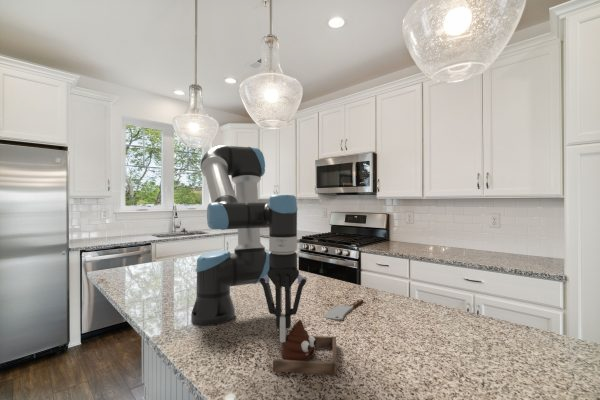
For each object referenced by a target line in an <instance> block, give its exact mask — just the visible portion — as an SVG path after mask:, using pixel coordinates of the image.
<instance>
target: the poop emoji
mask: <svg viewBox="0 0 600 400" xmlns="http://www.w3.org/2000/svg"><path fill="white" fill-rule="evenodd" d="M309 336H310V337H309ZM313 336H314V335H309V333H308V331H307V330H306V329H305V326H304V324H303V321H302V320H301V319H298V321H296V323H294V325H293V326H292V327H291V330H289V333H287V337H286V341H285V342H284V344H283V343H282V348H281V354H280V356H281V358H282V360H298V361H309V359H310V358H311V357H313V356H314V354H315V347H316V346H315V345H316V340H315V338H314V337H313Z"/></svg>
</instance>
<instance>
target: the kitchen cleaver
mask: <svg viewBox="0 0 600 400" xmlns="http://www.w3.org/2000/svg"><path fill="white" fill-rule="evenodd" d="M363 303H364V299H357V300H356V301H355V302H353V303H352V304H348V305H347V304H346V305H343V304H342V305H341V304H336V305H335V306H333V308H331V309H329V310H328V311H326V313H324V314H323V315H321V318H324V319H328V320H332V321H336V322H341V321H343V320H344V318H345V316H346V315H347V314H349V312H351V311H352V310H354V309H356V308H358V307H359V306H360V305H362V304H363Z"/></svg>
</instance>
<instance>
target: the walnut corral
mask: <svg viewBox="0 0 600 400" xmlns="http://www.w3.org/2000/svg"><path fill="white" fill-rule="evenodd" d="M310 336H311V335H309V337H310ZM312 336H313V337H314V338H315V340H316V345H315V346H314V347H331V348H332V352H331V353H332V354H331V356H332V357H331V358H332V362H331V361H329V362H328V361H312V360H307V361H298V360H283V359H277V358H273V359H272V372H282V373H284V372H286V373H296V374H297V373H298V374H299V373H300V374H314V375H328V376H330V375H331V376H332V375H333V376H337V369H338V368H337V366H338V365H337V364H338V363H337V336H326V335H325V336H324V335H312ZM283 344H284V342H282V345H283Z"/></svg>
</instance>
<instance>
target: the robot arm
mask: <svg viewBox="0 0 600 400" xmlns="http://www.w3.org/2000/svg"><path fill="white" fill-rule="evenodd" d="M200 172H201V173H202V175H203V176H204V177H205V180H206V185H207V188H208V192H209V197H210V200H211V201H210V202H209V204H208V205H207V208H206V221H207V226H208V228H209V229H210V230H221V231H225V230H237V246H236V247H235V248H234V249H233V250H234V253H232V254H231V253H230V251H229V250H216V251H209V252H207V253H204V254H201V255H200V256H199V257H197V259H196V268H195V272H196V291H195V292H196V298H195V302H194V304H193V307H192V311H191V316H190V317H191V318H190V319H191V320H190V321H191V322H192V323H193V324H195V325H197V326H198V325H199V326H216V325H221V324H225V323H227V322H229V321H231V320H233V319H234V318H235V315H236V309H235V305H234V303H233V300H232V296H231V287H238V286H246V285H252V284H253V285H257V284H259V283H260V284H261V286H262V288H263V293H264V297H265V302H266V305H267V309H268V313H269V314H271V315H274V316H275V327H276V329H279V343H283V342H285V341H286V337H287V335H288V329H290V328H291V326H292V325H291V324H292V316H293V315H294V316H295V315H297V313H298V309H299V306H300V305H299V304H300V301H301V296H302V292H303V289H304V286H305V285H306V284H307V280H308V278H307V277H306V276H304V277H303V276H302V275H301V274H300V272H299V269H298V253H297V252H296V251H297V250H298V204H297V203H298V202H297V201H298V200H297V197H296V196H295V195H294V194H272V195H270V197H269V199H268V200H269V201H268V202H267V201H266V202H262V201H261V202H259V193H258V191H259V190H258V184H259V182H260V181H261V180H262V177H264V175H265V173H266V161H265V155H264V154H263V152H262V150H260V149H259V148H258V147H251V146H239V145H238V146H235V145H225V144H224V145H223V144H222V145H217V146H214V147H212V148H210V149H209V150H207V151H206V153H205V154H204V155H203V156H202V158H201V160H200ZM230 176H231V179H230ZM231 181H232V182H233V183H234V184H235V191H234V187H233V184H232V182H231ZM261 228H262V229H263V228H268V229H269V230H268V231H269V233H268V240H269V241H268V243H269V244H268V245H269V246H268V249H269V251H267V250H266V247H265V246H264V245H263V244H262V242H261ZM296 280H297V284H298V286H297V290H296V294H295V298H294V300H293V301H294V302H293V306H292V286H293V284H294V283H295V281H296ZM270 281H271V282H272V284H273V285H274V290H275V300H274V298H273V293H272V289H271V285H270ZM283 288H284V307H285V309H284V311H285V312H284V313H282V312H283V310H282V308H283V306H282V305H283V302H282V297H283V296H282V294H283V293H282V290H283ZM274 301H275V302H274Z"/></svg>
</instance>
